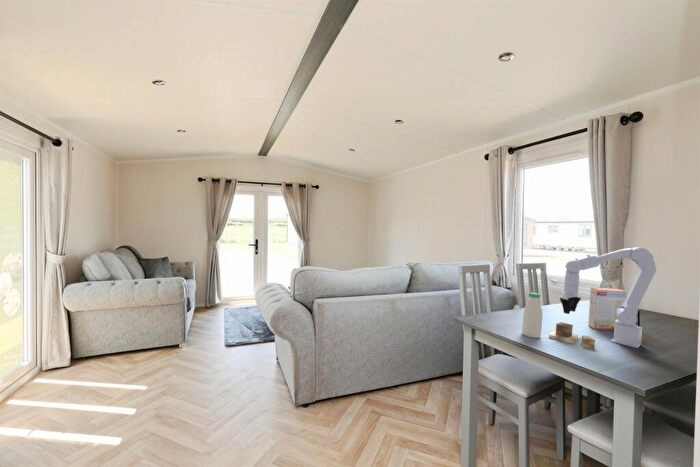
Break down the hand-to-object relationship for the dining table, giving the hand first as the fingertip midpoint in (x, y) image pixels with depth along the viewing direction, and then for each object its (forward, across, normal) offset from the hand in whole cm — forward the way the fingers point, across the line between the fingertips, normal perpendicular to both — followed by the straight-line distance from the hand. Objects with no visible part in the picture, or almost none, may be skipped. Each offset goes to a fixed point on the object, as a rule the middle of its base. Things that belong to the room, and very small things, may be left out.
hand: (569, 312), depth 159 cm
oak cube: (+10, +14, +12) cm, 21 cm away
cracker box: (+10, -25, +9) cm, 28 cm away
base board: (+10, +12, +2) cm, 16 cm away
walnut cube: (+8, +12, +2) cm, 15 cm away
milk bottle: (+10, +22, -8) cm, 25 cm away
